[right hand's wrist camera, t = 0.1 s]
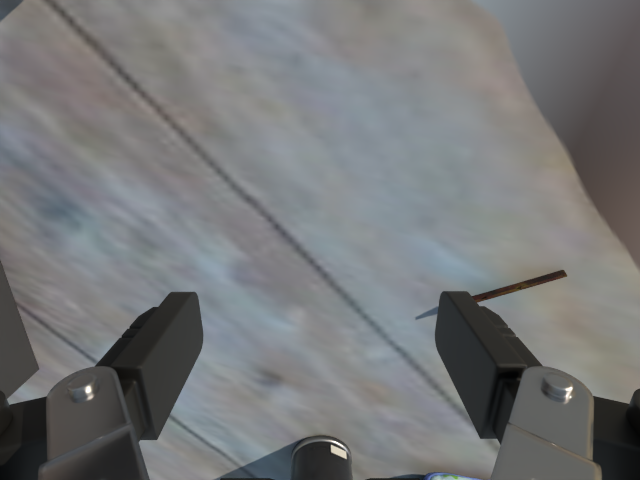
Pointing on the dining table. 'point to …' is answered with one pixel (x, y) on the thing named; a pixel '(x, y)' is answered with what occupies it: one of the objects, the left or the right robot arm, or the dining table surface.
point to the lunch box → (446, 477)
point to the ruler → (520, 286)
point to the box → (13, 343)
